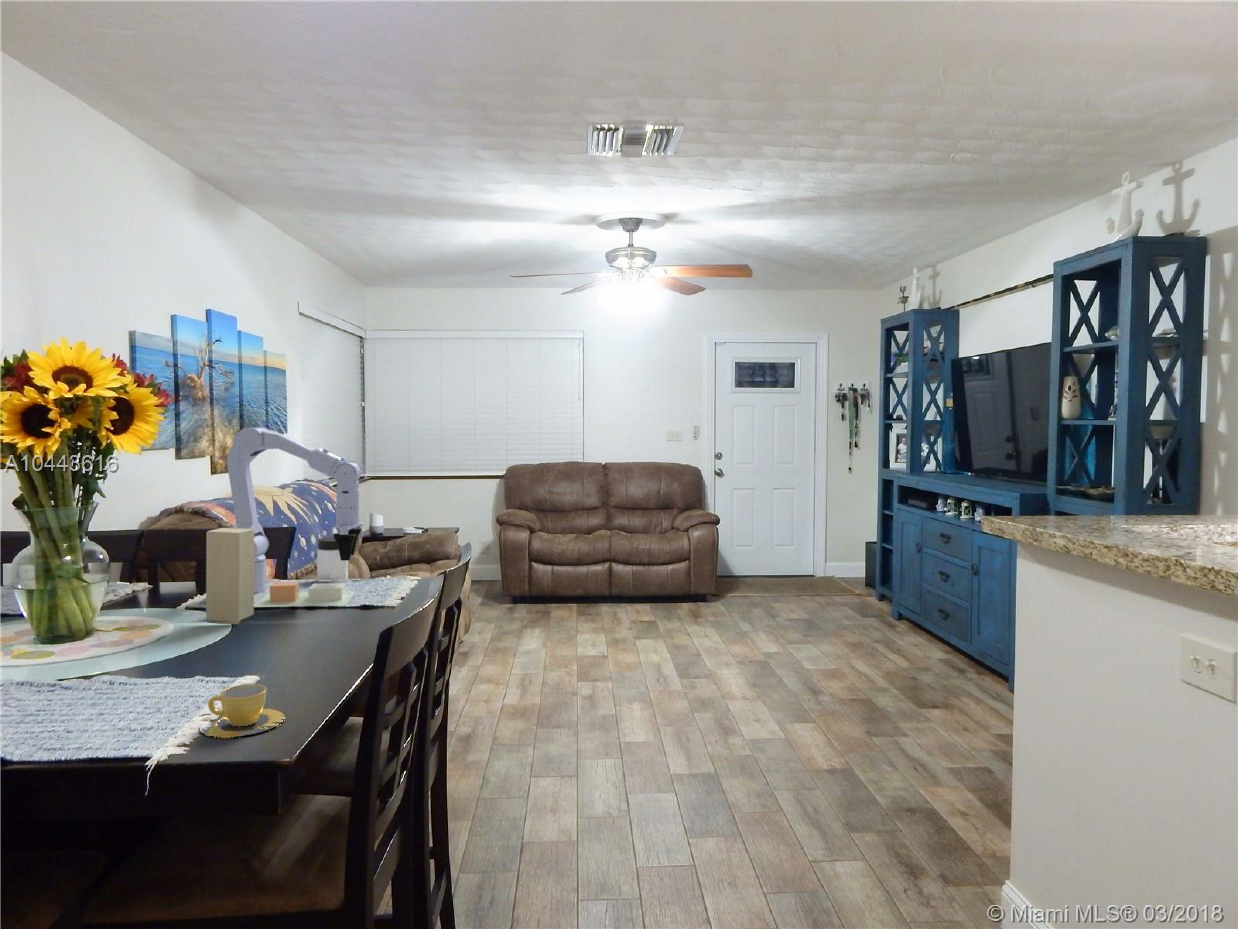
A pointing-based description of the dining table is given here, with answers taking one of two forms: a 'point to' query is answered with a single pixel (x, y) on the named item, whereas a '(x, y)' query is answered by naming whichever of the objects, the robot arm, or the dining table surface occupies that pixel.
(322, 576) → the jar
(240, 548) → the beige tall rectangular block
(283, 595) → the top brick
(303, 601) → the baseplate
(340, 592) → the base brick
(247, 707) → the cup
